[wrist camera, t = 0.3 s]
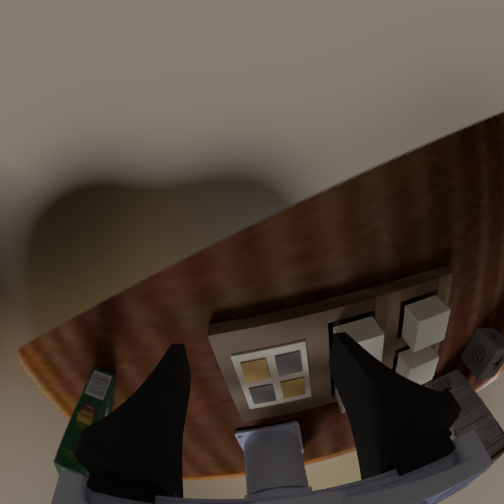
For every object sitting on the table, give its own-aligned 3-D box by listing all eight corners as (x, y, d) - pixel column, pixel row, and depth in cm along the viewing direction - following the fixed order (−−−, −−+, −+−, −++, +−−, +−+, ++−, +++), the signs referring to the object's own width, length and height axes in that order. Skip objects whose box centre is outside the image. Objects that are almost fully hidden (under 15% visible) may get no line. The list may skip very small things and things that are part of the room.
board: (427, 358, 29) (434, 368, 27) (242, 410, 29) (243, 424, 27) (444, 265, 24) (455, 274, 22) (208, 324, 24) (207, 338, 22)
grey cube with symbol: (477, 355, 31) (494, 375, 26) (459, 357, 30) (477, 379, 26) (494, 327, 29) (513, 347, 24) (477, 327, 28) (498, 349, 24)
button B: (370, 346, 24) (381, 364, 22) (334, 356, 24) (342, 376, 22) (372, 316, 23) (384, 334, 21) (333, 327, 23) (342, 346, 21)
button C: (421, 364, 27) (432, 379, 24) (394, 375, 27) (404, 391, 24) (427, 341, 25) (439, 357, 23) (398, 352, 25) (409, 369, 23)
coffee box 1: (92, 362, 26) (50, 463, 13) (117, 372, 26) (82, 477, 14) (91, 401, 28) (62, 487, 16) (112, 410, 29) (88, 498, 17)
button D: (430, 324, 24) (443, 339, 22) (401, 335, 24) (413, 352, 22) (435, 294, 23) (450, 309, 21) (405, 305, 23) (419, 321, 21)
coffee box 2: (443, 402, 35) (484, 472, 20) (411, 417, 35) (449, 494, 20) (458, 366, 31) (513, 443, 16) (424, 382, 31) (476, 471, 16)
